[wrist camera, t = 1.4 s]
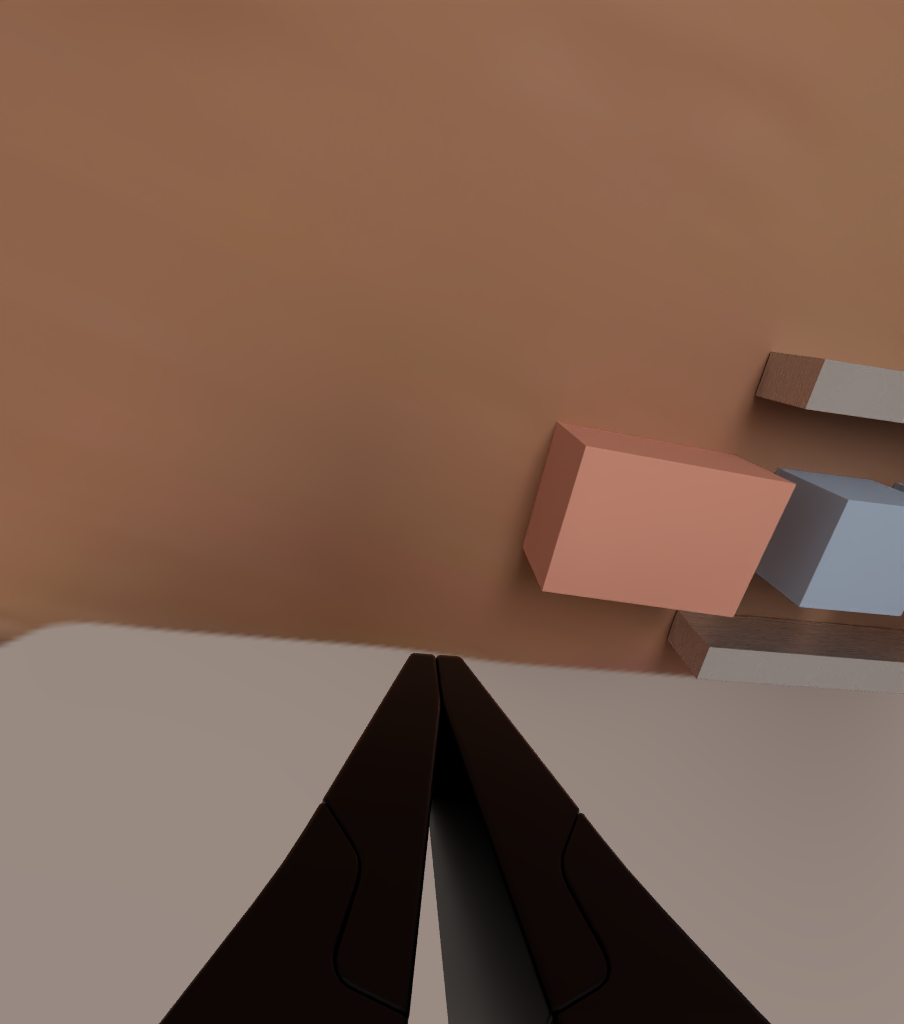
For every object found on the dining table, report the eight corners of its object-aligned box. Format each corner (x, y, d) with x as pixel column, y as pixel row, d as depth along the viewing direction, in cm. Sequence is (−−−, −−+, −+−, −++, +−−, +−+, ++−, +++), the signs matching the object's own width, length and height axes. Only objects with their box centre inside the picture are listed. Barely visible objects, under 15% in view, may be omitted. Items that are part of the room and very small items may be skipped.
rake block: (731, 453, 19) (796, 484, 16) (683, 568, 21) (733, 617, 18) (555, 420, 18) (585, 445, 15) (521, 544, 20) (541, 591, 17)
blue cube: (869, 478, 20) (958, 512, 17) (826, 568, 21) (900, 616, 18) (775, 467, 19) (848, 500, 16) (739, 559, 21) (798, 606, 18)
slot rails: (1064, 397, 19) (1154, 411, 17) (911, 659, 23) (965, 698, 21) (770, 351, 17) (825, 359, 15) (667, 639, 22) (696, 679, 20)
